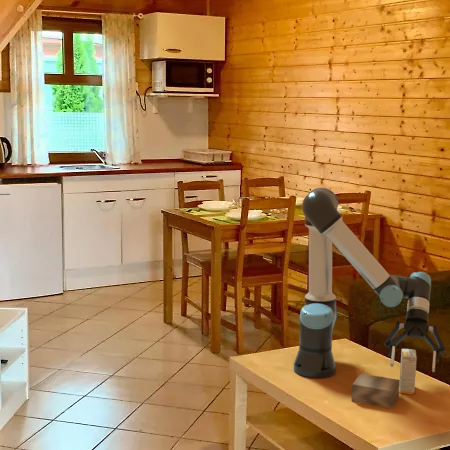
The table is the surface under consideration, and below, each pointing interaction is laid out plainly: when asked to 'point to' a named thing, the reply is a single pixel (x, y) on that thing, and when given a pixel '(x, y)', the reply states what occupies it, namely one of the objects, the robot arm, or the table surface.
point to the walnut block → (375, 390)
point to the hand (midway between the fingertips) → (412, 367)
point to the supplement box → (407, 371)
